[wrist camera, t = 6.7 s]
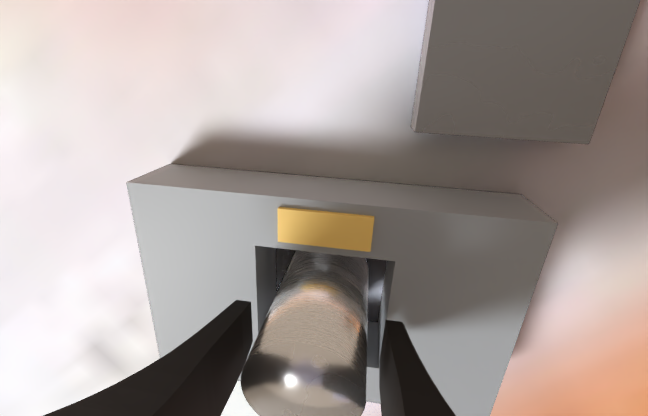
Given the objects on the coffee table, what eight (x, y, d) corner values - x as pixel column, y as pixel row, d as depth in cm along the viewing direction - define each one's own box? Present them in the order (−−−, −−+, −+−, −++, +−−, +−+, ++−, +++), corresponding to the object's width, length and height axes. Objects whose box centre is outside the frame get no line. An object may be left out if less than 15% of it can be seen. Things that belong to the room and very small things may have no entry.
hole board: (521, 194, 14) (561, 225, 11) (469, 367, 18) (489, 425, 15) (169, 163, 16) (122, 183, 13) (191, 327, 19) (159, 371, 16)
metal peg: (364, 307, 17) (360, 444, 11) (291, 297, 18) (243, 424, 11) (372, 240, 16) (372, 353, 9) (291, 231, 16) (237, 333, 10)
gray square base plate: (626, -50, 10) (665, -69, 9) (565, 137, 13) (588, 144, 11) (436, -51, 11) (445, -70, 10) (410, 126, 13) (415, 132, 12)
